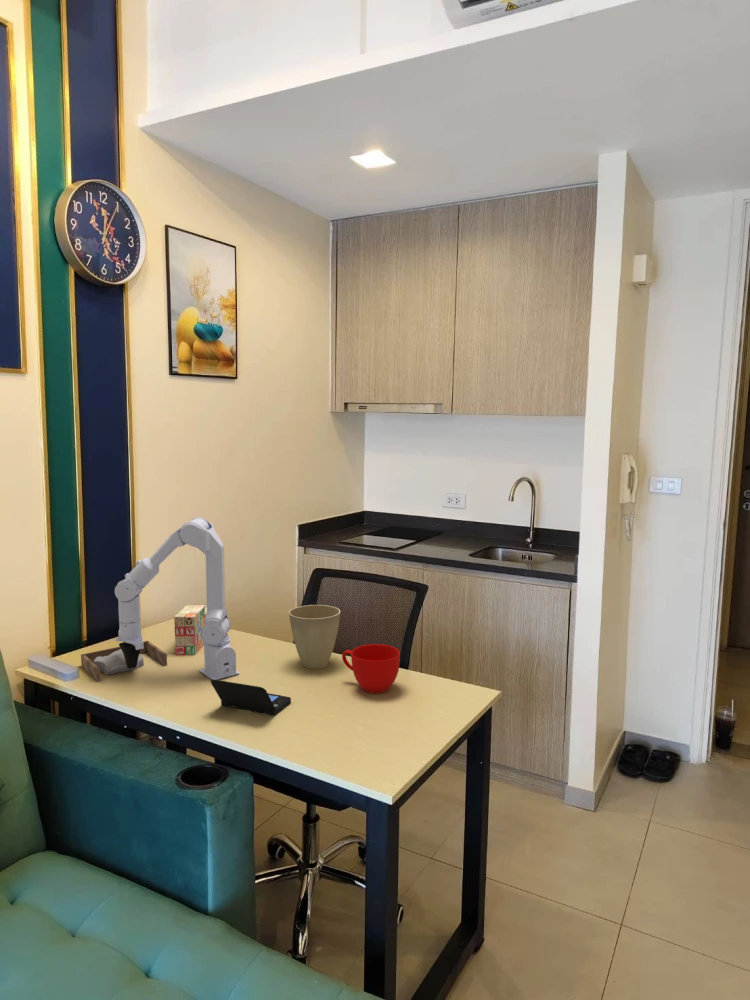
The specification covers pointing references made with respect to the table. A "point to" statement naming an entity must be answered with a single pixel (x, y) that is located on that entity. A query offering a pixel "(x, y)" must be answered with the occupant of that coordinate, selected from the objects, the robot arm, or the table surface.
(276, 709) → the game console
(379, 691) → the ceramic cup
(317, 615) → the plant pot
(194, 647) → the stack of blocks
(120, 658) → the stone block
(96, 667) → the box
